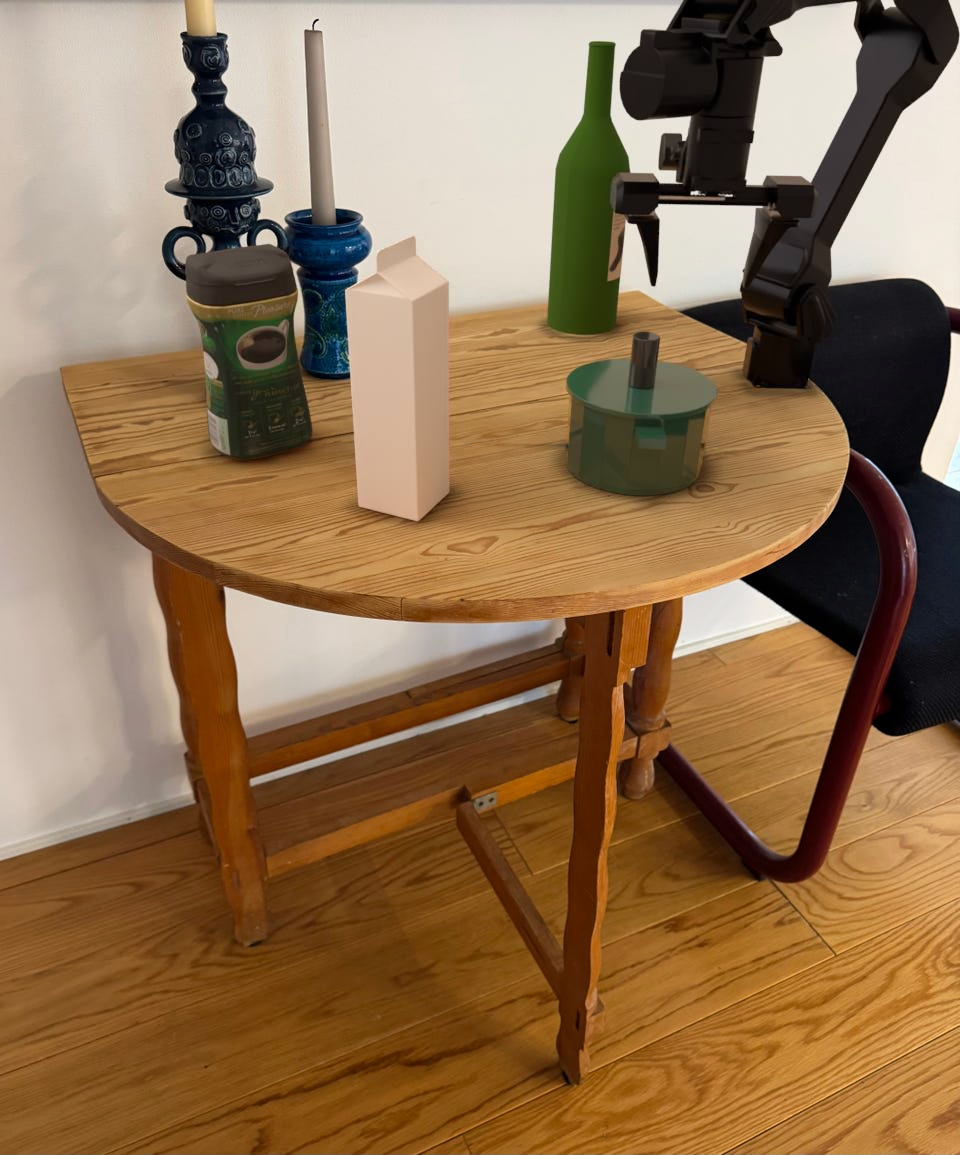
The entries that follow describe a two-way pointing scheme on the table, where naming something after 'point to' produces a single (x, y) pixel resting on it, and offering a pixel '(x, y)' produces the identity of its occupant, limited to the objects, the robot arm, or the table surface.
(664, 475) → the tin
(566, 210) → the wine bottle
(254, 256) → the coffee jar
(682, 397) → the lid
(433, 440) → the milk
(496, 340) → the table surface
